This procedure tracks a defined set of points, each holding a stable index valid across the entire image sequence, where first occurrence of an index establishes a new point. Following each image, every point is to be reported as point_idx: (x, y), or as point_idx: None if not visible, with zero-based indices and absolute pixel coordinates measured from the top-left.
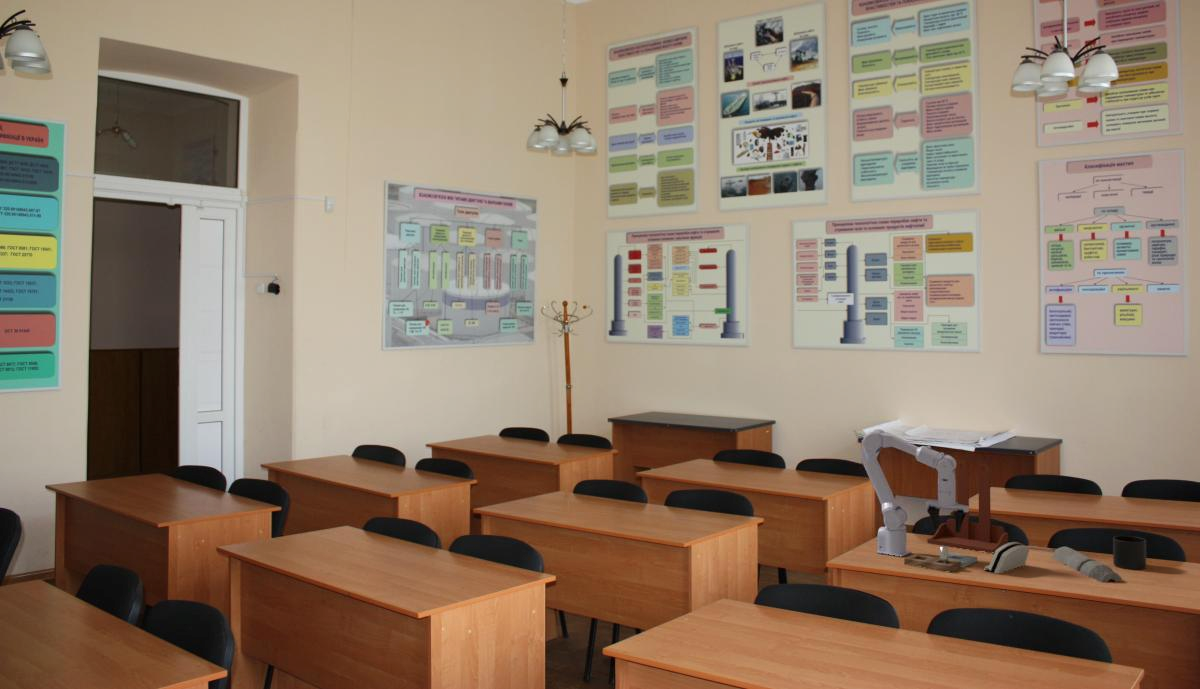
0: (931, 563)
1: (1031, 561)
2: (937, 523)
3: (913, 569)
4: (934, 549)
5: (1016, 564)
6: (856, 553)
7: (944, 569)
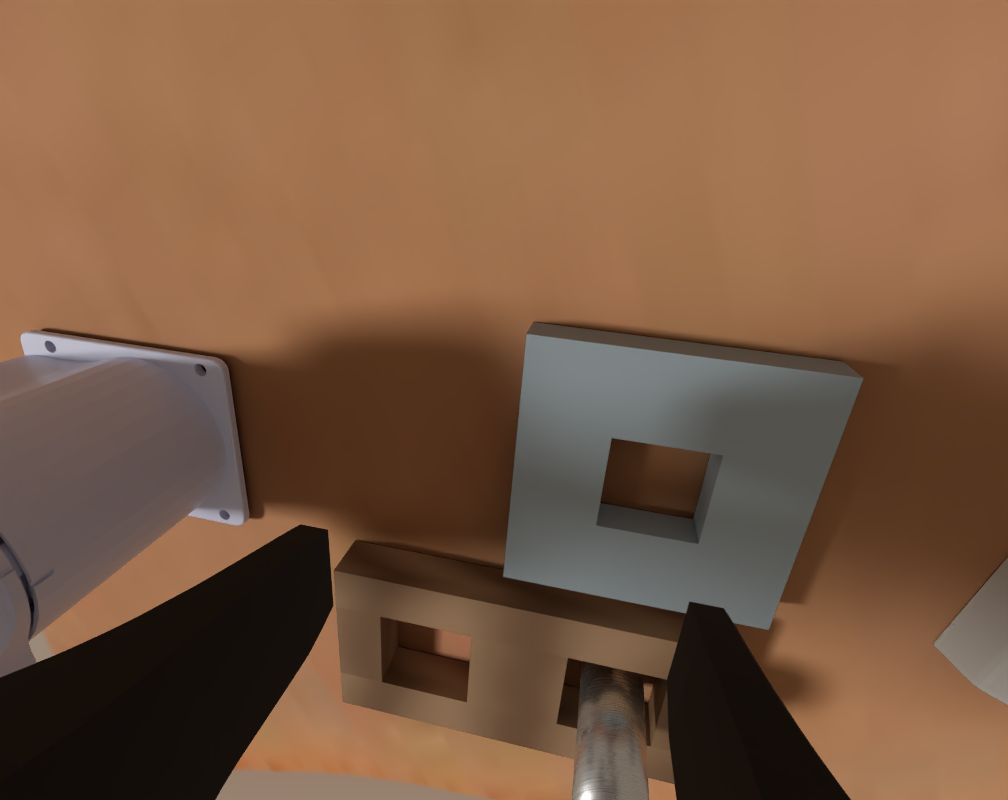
0: (541, 747)
1: None
2: (274, 625)
3: (455, 740)
4: (300, 77)
5: None
6: None
7: None
